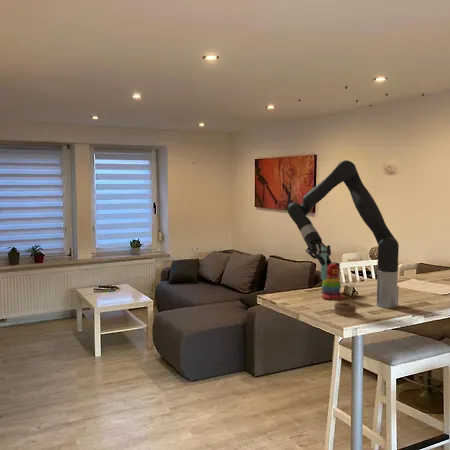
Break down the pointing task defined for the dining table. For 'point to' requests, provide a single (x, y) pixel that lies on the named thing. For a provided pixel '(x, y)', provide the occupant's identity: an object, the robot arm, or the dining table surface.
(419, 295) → the dining table surface
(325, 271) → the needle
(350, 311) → the brown thick ring
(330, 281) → the stacking bear
